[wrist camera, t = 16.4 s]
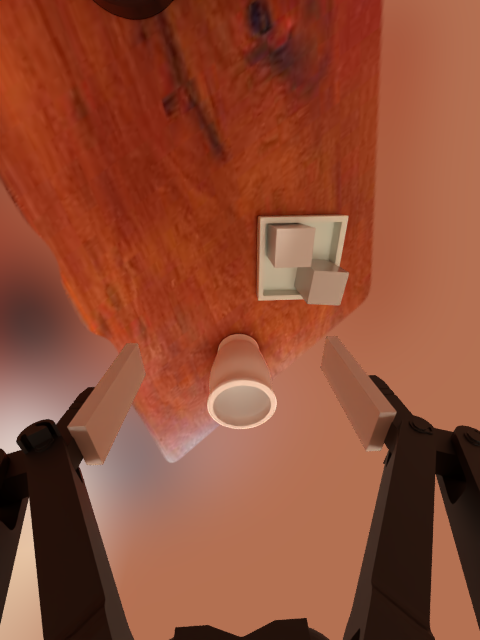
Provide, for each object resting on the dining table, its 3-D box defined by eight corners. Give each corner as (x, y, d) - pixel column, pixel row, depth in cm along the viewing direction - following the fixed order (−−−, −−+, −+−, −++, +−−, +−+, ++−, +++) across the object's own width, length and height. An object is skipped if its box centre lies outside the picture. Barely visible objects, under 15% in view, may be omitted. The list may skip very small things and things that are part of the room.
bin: (257, 216, 37) (260, 217, 34) (338, 214, 37) (348, 215, 34) (256, 293, 43) (258, 300, 40) (326, 291, 43) (333, 298, 40)
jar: (264, 327, 46) (278, 378, 33) (263, 368, 51) (275, 428, 38) (210, 329, 46) (203, 382, 33) (214, 371, 51) (209, 431, 38)
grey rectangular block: (299, 258, 40) (314, 270, 32) (327, 259, 40) (349, 272, 33) (294, 286, 42) (307, 303, 35) (321, 287, 42) (339, 305, 35)
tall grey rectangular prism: (267, 223, 37) (276, 228, 30) (299, 222, 37) (315, 228, 30) (266, 255, 39) (274, 267, 32) (296, 254, 39) (310, 266, 32)
